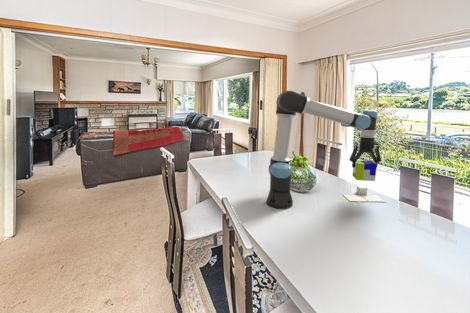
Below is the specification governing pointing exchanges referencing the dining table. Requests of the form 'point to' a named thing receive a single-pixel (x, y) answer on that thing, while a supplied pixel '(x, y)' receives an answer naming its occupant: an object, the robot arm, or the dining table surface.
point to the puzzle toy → (365, 170)
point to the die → (361, 190)
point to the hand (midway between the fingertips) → (363, 172)
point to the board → (363, 198)
